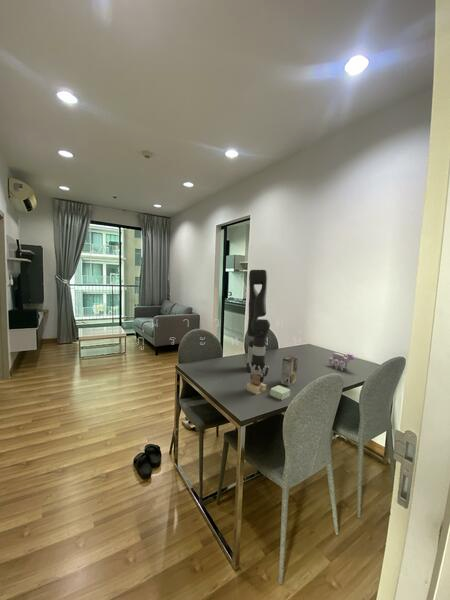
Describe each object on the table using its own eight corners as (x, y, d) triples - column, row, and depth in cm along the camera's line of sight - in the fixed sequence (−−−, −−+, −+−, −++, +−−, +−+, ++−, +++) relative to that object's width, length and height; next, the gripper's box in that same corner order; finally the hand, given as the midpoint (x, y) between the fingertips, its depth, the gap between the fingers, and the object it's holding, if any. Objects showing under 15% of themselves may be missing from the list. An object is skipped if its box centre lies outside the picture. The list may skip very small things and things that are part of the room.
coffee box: (286, 379, 173) (288, 355, 172) (296, 382, 169) (298, 358, 168) (280, 383, 166) (282, 358, 165) (289, 386, 162) (291, 361, 161)
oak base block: (255, 386, 160) (256, 380, 160) (265, 391, 154) (266, 384, 154) (246, 390, 155) (247, 383, 154) (256, 395, 149) (257, 388, 148)
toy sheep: (359, 372, 194) (360, 354, 192) (351, 375, 188) (352, 357, 186) (334, 363, 210) (335, 347, 208) (326, 366, 204) (327, 349, 202)
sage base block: (277, 391, 155) (278, 385, 154) (289, 396, 149) (290, 389, 149) (270, 395, 149) (270, 388, 149) (282, 400, 144) (282, 393, 143)
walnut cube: (254, 379, 157) (254, 371, 157) (262, 381, 155) (262, 373, 154) (251, 382, 153) (251, 374, 152) (259, 384, 150) (260, 376, 150)
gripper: (272, 353, 152) (270, 381, 154) (249, 349, 159) (247, 376, 160) (268, 357, 146) (266, 386, 147) (244, 352, 152) (243, 380, 154)
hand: (256, 381), depth 154 cm, fingers closed on walnut cube, 4 cm apart
